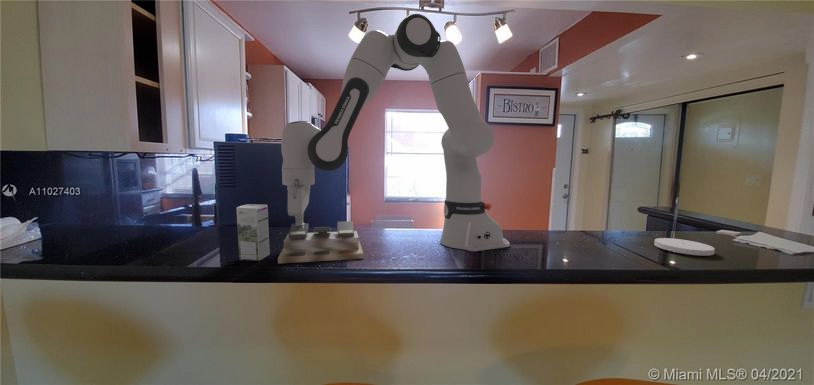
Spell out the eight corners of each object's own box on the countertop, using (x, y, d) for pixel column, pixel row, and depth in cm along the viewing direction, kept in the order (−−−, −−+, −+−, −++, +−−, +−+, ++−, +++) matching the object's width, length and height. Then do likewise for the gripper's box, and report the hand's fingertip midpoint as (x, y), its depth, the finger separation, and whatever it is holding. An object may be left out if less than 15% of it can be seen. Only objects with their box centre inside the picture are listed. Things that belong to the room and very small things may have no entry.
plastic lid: (702, 249, 99) (703, 241, 99) (722, 261, 87) (723, 253, 87) (649, 243, 106) (650, 236, 105) (660, 254, 93) (661, 246, 93)
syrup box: (270, 254, 86) (268, 203, 85) (258, 261, 80) (256, 207, 79) (251, 253, 87) (249, 203, 85) (238, 260, 81) (235, 206, 79)
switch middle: (331, 231, 92) (331, 227, 92) (330, 230, 85) (330, 226, 85) (315, 232, 91) (315, 228, 91) (313, 231, 84) (313, 227, 84)
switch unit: (359, 246, 96) (359, 227, 95) (363, 258, 84) (363, 237, 84) (285, 249, 91) (284, 230, 90) (278, 263, 79) (277, 241, 79)
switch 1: (308, 226, 91) (308, 222, 90) (306, 237, 84) (306, 234, 84) (292, 226, 90) (291, 223, 89) (288, 238, 83) (288, 234, 83)
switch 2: (352, 223, 94) (352, 220, 93) (354, 236, 87) (354, 233, 87) (337, 224, 92) (337, 221, 92) (337, 237, 86) (337, 233, 86)
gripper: (306, 181, 79) (307, 233, 80) (312, 176, 99) (313, 218, 100) (280, 181, 77) (282, 234, 79) (292, 176, 97) (293, 218, 99)
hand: (299, 225), depth 90 cm, fingers closed, pressing on switch 1
